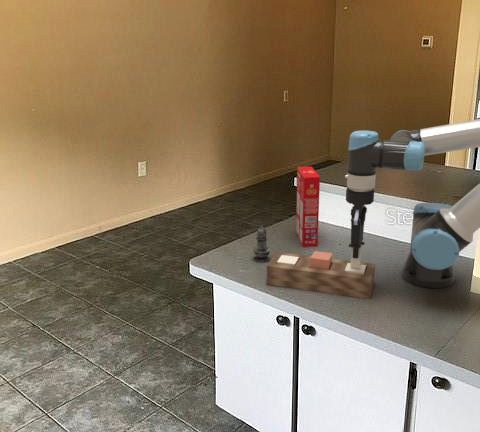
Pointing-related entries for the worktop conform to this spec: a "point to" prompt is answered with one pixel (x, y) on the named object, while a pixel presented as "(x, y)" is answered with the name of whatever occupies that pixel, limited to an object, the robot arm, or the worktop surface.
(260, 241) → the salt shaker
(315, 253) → the middle button
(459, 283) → the worktop surface
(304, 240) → the food packaging
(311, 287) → the mount
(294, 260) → the far button
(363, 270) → the near button
